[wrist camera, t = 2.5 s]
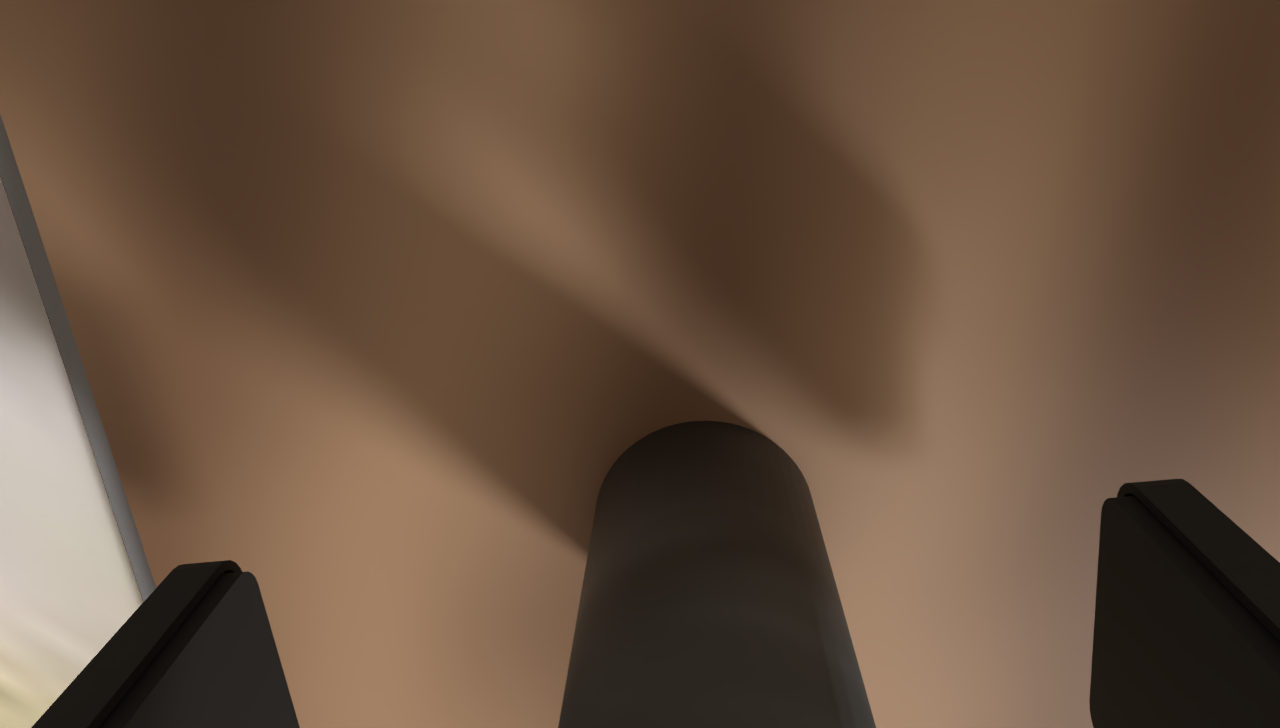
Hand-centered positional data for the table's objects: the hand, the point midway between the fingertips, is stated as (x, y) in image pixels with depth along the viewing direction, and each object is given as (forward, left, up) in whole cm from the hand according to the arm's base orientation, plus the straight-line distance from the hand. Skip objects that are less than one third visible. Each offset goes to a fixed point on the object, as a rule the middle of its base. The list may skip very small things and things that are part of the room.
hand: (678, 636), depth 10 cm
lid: (0, 0, -4) cm, 4 cm away
